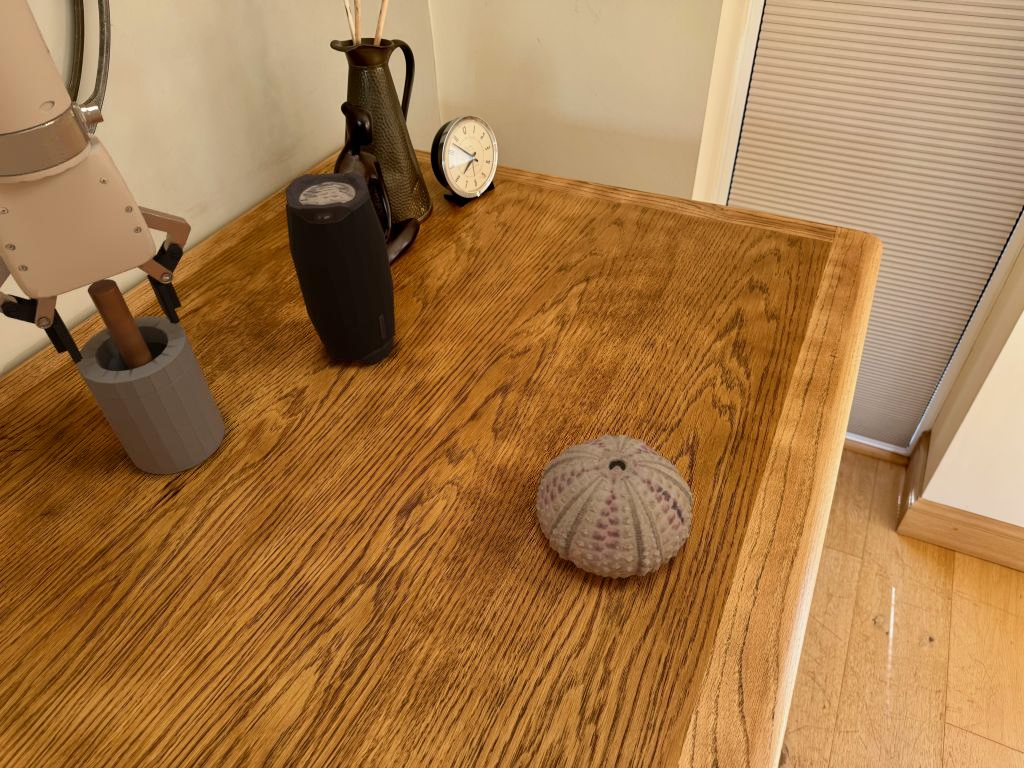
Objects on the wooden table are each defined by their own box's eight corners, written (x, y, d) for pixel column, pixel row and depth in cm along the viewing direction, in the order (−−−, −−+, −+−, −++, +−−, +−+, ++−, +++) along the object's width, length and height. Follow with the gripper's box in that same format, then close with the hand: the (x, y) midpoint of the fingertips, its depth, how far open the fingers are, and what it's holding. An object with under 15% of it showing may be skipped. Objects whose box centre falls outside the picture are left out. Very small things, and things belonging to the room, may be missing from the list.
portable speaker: (308, 340, 83) (263, 182, 69) (382, 312, 86) (354, 157, 73) (336, 383, 77) (294, 221, 64) (415, 351, 81) (390, 191, 67)
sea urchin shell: (643, 448, 70) (652, 388, 64) (719, 562, 60) (738, 502, 55) (513, 488, 66) (511, 428, 61) (573, 615, 57) (577, 557, 52)
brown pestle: (151, 447, 70) (68, 298, 58) (169, 421, 73) (93, 272, 61) (186, 451, 70) (110, 301, 58) (202, 424, 73) (133, 275, 60)
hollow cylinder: (112, 470, 69) (54, 378, 61) (158, 404, 76) (111, 313, 67) (200, 478, 68) (154, 386, 60) (239, 411, 75) (202, 319, 66)
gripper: (136, 91, 56) (207, 278, 69) (-125, 157, 49) (6, 353, 61) (167, 122, 52) (237, 316, 64) (-115, 200, 45) (24, 402, 57)
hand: (124, 333), depth 63 cm, fingers open, 7 cm apart
